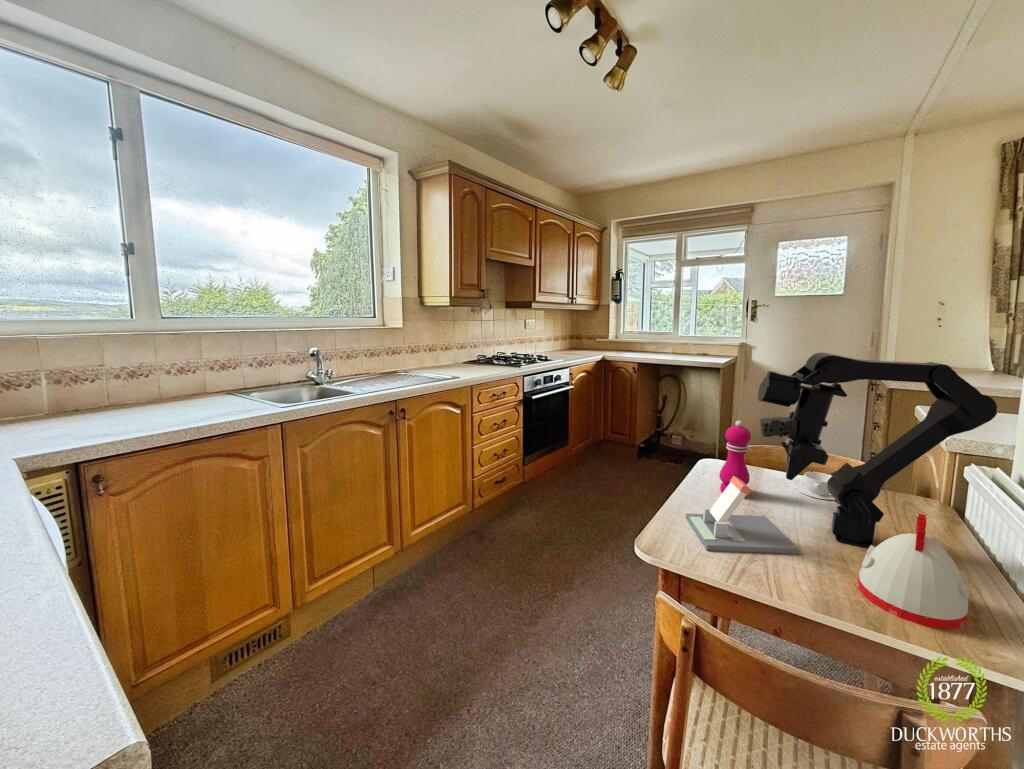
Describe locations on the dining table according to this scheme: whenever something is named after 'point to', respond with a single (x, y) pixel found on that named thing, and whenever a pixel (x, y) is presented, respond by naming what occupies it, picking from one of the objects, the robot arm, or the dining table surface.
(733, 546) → the switch panel
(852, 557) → the dining table surface
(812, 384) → the robot arm
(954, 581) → the kitchen timer
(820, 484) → the teacup
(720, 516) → the switch lever
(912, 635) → the dining table surface
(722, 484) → the pepper mill
